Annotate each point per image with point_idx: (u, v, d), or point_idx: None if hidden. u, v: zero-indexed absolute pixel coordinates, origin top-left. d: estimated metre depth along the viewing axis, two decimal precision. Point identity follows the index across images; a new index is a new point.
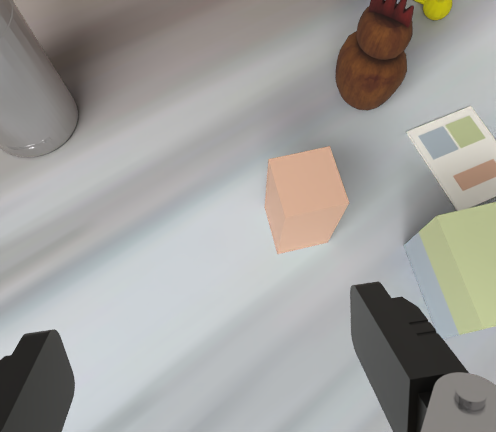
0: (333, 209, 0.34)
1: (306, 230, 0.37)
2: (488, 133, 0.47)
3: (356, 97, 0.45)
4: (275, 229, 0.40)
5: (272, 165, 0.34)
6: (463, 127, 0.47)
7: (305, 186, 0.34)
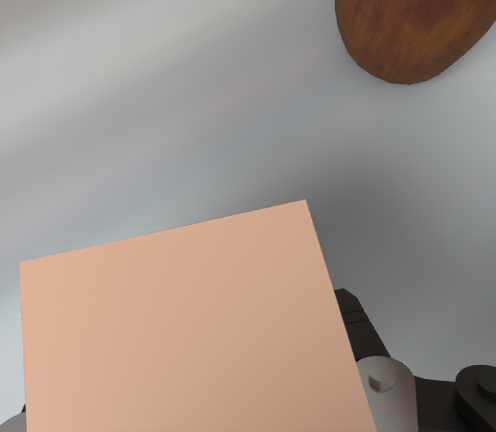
0: None
1: None
2: None
3: (388, 46, 0.17)
4: None
5: (30, 294, 0.07)
6: None
7: (175, 416, 0.07)
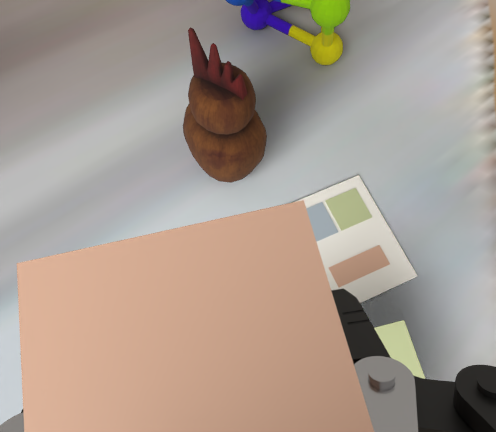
0: None
1: None
2: (376, 211, 0.38)
3: (208, 171, 0.36)
4: None
5: (28, 295, 0.07)
6: (346, 203, 0.38)
7: (172, 417, 0.07)
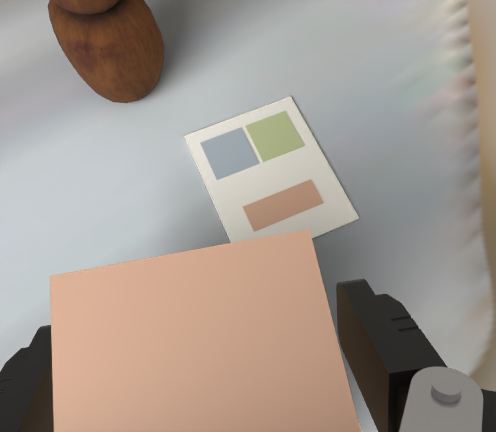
0: None
1: None
2: (310, 138, 0.30)
3: (87, 80, 0.28)
4: None
5: (59, 305, 0.08)
6: (272, 128, 0.30)
7: (184, 421, 0.07)
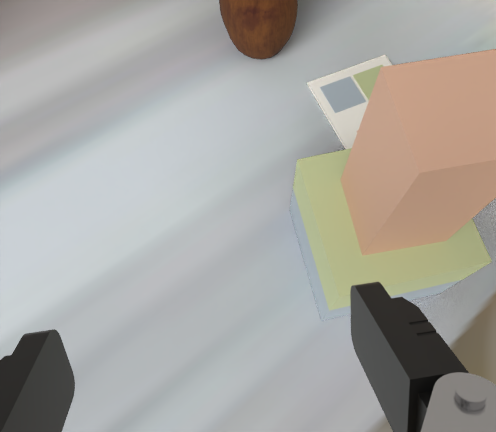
0: None
1: (433, 210, 0.20)
2: None
3: (242, 39, 0.38)
4: (367, 211, 0.23)
5: (388, 77, 0.18)
6: (373, 77, 0.40)
7: (456, 116, 0.17)
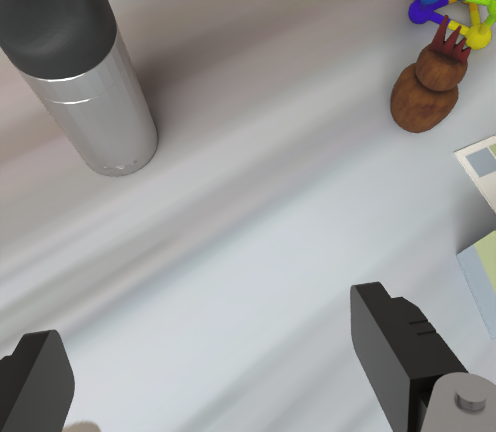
0: None
1: None
2: None
3: (411, 122, 0.50)
4: None
5: None
6: None
7: None
